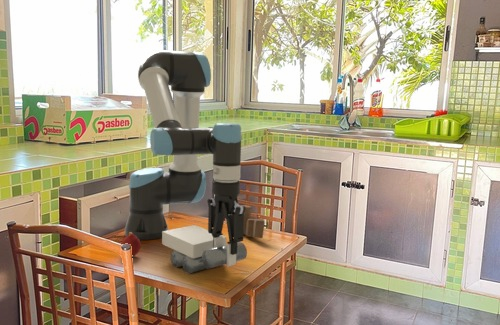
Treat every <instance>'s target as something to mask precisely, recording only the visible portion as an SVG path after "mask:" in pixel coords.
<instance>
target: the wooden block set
mask: <svg viewBox="0 0 500 325" xmlns="http://www.w3.org/2000/svg"><path fill="white" fill-rule="evenodd" d="M240 206H245V212H244V232H243V236H244V235H245V236H246V237H251V238H256V239H263V238H264V230H265V229H264V227H265V220H264V219H263V218H259V217H251V214H252V206H250V205H244V204H243V205H240Z"/></svg>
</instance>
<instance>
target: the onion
mask: <svg viewBox="0 0 500 325" xmlns="http://www.w3.org/2000/svg"><path fill="white" fill-rule="evenodd" d="M128 234H129V235H128V236H125V237H124V238H123V240H122V242H121V245H122V244H125V243H128V244H131V246H132V255H133V257H134V256H136V255H137V254H138V253H139V252H140V250H141V247H142V244H141V240H139V239H138V238H137V237H136V236H135V235H134V234H133V233H132V232H129V233H128Z"/></svg>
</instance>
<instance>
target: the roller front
mask: <svg viewBox="0 0 500 325" xmlns="http://www.w3.org/2000/svg"><path fill="white" fill-rule="evenodd" d="M182 265H183V266H182V268H183V270H184V272H185V273H187V274H192V273H197V272H200V271H203V270H208V268H206V267H205V265H204V264H203V261H202V256H201V257H197V258H191V257H189V256H185V257H184V258H183V260H182Z"/></svg>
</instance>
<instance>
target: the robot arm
mask: <svg viewBox="0 0 500 325" xmlns="http://www.w3.org/2000/svg"><path fill="white" fill-rule="evenodd" d="M211 69H212V68H211V64H210V60H209V58H208V57H207V55H206V54H204V53H202V52H196V51H184V50H183V51H180V50H165V49H163V50H162V49H160V50H157V51H156V50H155V51H154V52H151V53H150V54H149V55H147V56H146V57H145V58H144V59H143V60H142V62H141V63H140V66H139V68H138V73H137V78H138V83H139V85H140V87H141V88H142V89H143V90H144V93H145V96H146V100H147V101H146V102H147V104H148V109H149V111H150V115H151V119H152V122H153V127H154V128H152V129H151V131H150V135H149V142H150V151H151V153H152V154H153V155H156V156H157V155H158V156H165V157H166V156H173V160H172V162H171V164H169V166H168V171H164V170H163V168H162V167H147V168H142V169H138V170H136V171H133V172H132V173H131V174H130V176H129V185H128V188H129V215H128V218H127V221H126V224H125V227H124V236H125V237H126V236H128V235H129V234H128V233H129V232H132V233H133V234H134V235H135V236H136V237H137V238H138V239H139V240H140V241H145V240H147V241H148V240H157V239H162V231H167V230H169V229H168V227H169V226H168V224H167V220H166V218H165V215H164V214H165V213H164V205H176V204H178V205H179V204H192V203H198V202H200V201H201V200H202V199H203V198H204V196H205V193H206V188H207V180H206V179H207V176H206V173H205V172H204V171H203V170H202V166H201V165H200V164H199V163H198V155H213V156H212V179H213V181H212V186H211V187H212V194H213V195H214V197H213V198H212V197H211V198H208V199H207V206H208V207H207V208H208V214H207V215H208V217H207V218H208V220H207V221H208V223H207V230H208V232H209V233H211V234H212V236H213V247H214V248H217V247H221V246H223V236H224V233H223V227H224V223H225V220H226V227H227V235H228V241H226V245H227V264H226V266H227V267H231V266H234V265H236V264H237V261H236V254H237V244H238V242H241V243H242V242H243V241H244V235H243V232H244V212H245V206H241V205H240V204H239V201H238V196H239V195H240V193H241V182H240V179H241V167H242V166H241V161H242V160H241V159H242V158H241V156H242V140H243V137H242V136H243V135H242V126H241V125H240V124H239V123H232V122H217V123H215V124H214V125H213V126H209V127H199V126H200V125H199V124H200V102H201V101H200V100H201V96H202V95H204V93H205V91H206V90H205V89H206V88H207V87H209V86H210V85H211V80H212V70H211ZM171 92H172V93H173V95H174V96H175V97H174V99H175V100H174V99H173V96H172V93H171ZM221 235H222V236H221Z"/></svg>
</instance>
